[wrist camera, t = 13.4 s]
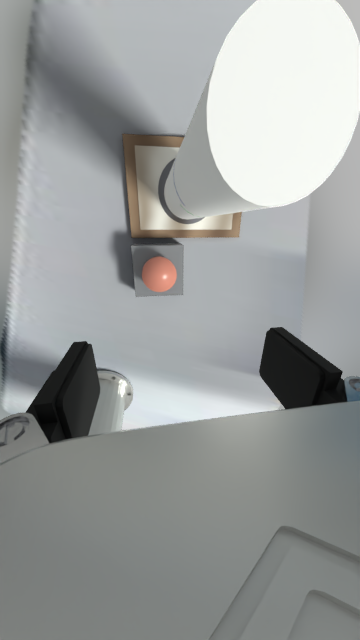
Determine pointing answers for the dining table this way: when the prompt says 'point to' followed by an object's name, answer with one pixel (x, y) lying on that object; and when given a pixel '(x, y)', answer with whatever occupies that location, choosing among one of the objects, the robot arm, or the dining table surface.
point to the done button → (159, 274)
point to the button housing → (148, 251)
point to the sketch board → (148, 193)
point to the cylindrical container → (270, 111)
